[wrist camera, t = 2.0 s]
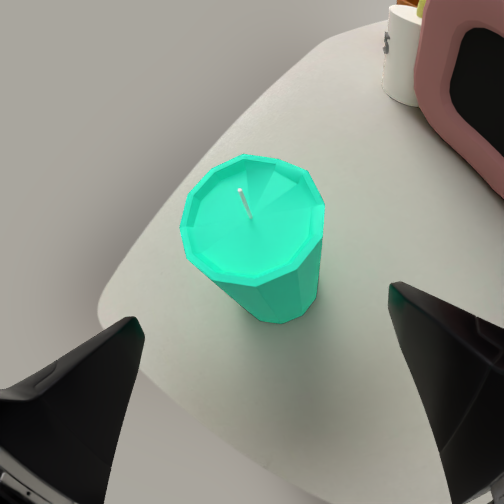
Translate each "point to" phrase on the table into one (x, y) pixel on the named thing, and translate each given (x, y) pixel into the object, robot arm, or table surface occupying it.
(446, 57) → the alarm clock
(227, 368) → the table surface
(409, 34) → the candle
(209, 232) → the candle
